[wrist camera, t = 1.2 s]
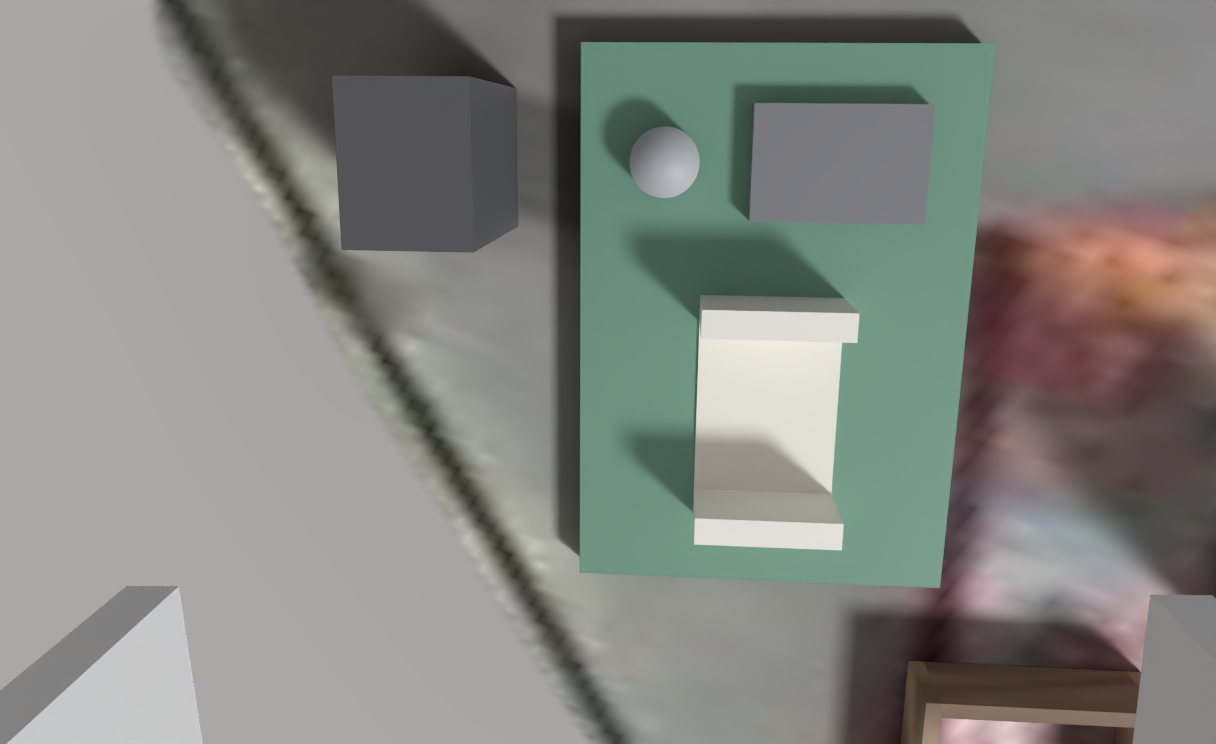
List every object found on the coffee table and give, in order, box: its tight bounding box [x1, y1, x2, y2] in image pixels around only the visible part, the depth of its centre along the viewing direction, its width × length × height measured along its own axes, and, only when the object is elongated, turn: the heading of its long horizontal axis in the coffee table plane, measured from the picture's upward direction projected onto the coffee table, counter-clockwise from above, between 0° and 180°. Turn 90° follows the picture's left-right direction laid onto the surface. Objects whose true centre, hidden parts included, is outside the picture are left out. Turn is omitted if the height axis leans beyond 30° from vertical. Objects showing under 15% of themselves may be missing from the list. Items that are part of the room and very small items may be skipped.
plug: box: [332, 75, 518, 252], centre depth 32 cm, size 5×4×8 cm
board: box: [580, 42, 996, 588], centre depth 34 cm, size 20×14×4 cm
